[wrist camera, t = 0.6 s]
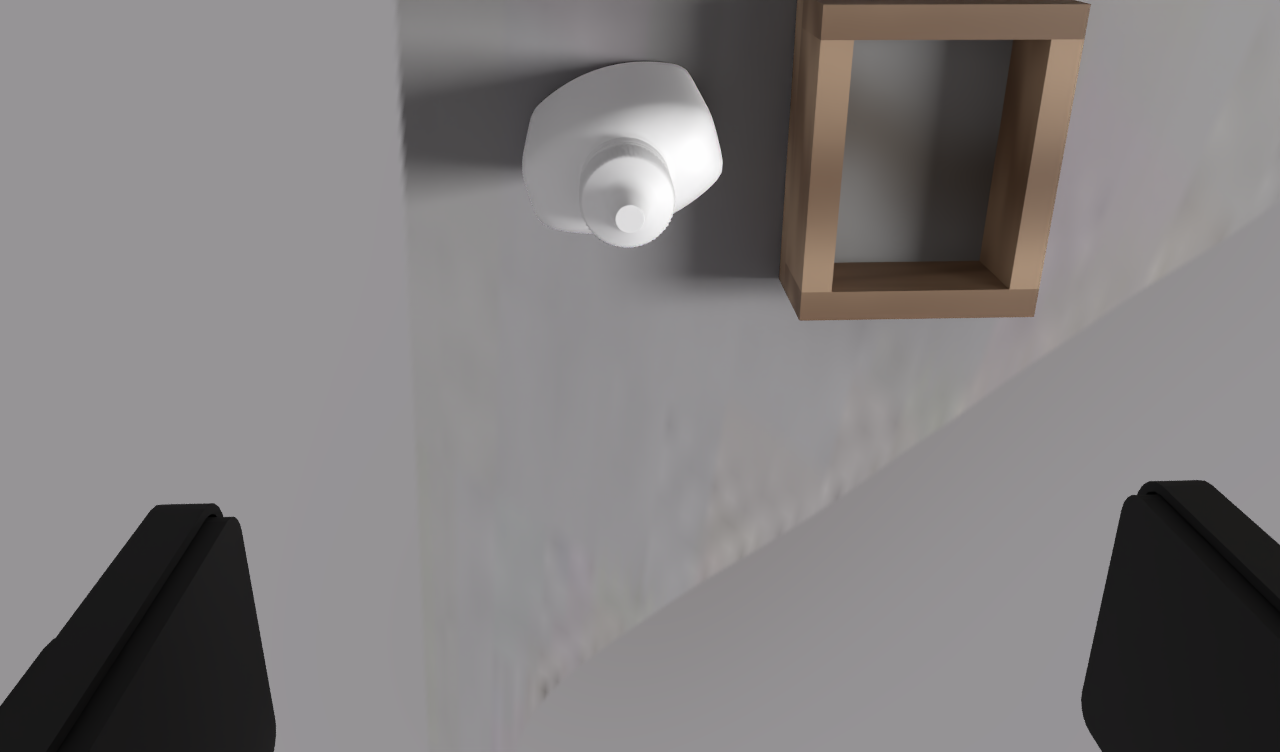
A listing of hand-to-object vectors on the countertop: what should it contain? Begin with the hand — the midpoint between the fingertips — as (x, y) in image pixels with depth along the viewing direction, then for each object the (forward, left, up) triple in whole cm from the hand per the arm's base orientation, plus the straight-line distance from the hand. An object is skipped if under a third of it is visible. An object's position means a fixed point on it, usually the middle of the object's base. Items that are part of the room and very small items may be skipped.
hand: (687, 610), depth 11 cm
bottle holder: (+1, +10, -27) cm, 29 cm away
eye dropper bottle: (0, 0, -27) cm, 27 cm away
